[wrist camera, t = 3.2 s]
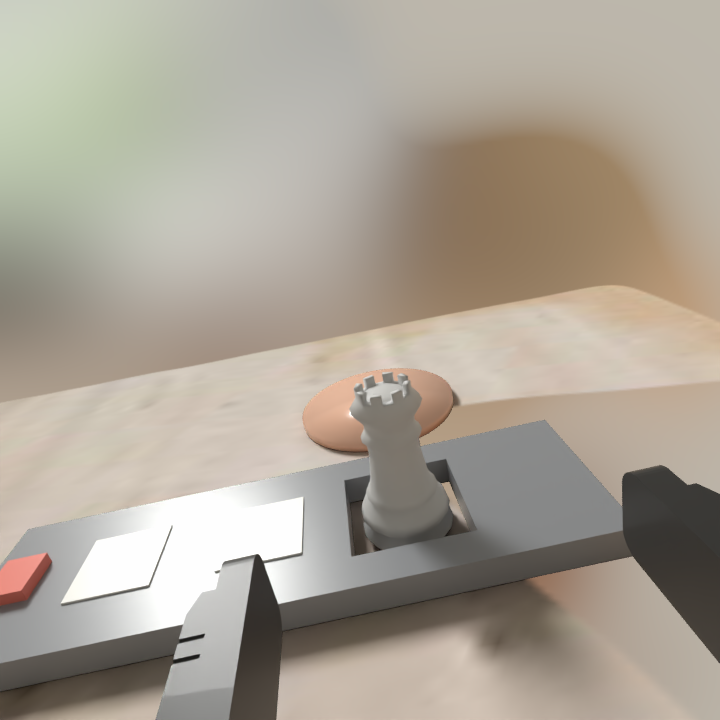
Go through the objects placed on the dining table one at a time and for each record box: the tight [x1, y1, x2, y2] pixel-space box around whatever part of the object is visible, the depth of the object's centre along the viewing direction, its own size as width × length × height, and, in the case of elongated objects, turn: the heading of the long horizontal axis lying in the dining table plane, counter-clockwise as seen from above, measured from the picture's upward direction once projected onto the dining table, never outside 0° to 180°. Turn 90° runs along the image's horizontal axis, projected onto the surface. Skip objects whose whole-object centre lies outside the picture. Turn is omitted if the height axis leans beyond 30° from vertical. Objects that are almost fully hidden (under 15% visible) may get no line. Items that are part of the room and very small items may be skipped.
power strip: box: [0, 420, 633, 691], centre depth 24 cm, size 30×9×2 cm, turn 95°
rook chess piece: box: [349, 372, 453, 550], centre depth 23 cm, size 4×4×8 cm
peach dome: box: [303, 368, 453, 452], centre depth 37 cm, size 11×11×1 cm
